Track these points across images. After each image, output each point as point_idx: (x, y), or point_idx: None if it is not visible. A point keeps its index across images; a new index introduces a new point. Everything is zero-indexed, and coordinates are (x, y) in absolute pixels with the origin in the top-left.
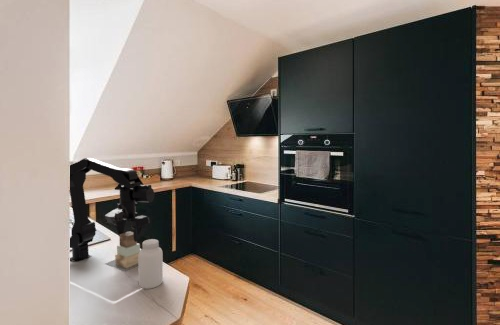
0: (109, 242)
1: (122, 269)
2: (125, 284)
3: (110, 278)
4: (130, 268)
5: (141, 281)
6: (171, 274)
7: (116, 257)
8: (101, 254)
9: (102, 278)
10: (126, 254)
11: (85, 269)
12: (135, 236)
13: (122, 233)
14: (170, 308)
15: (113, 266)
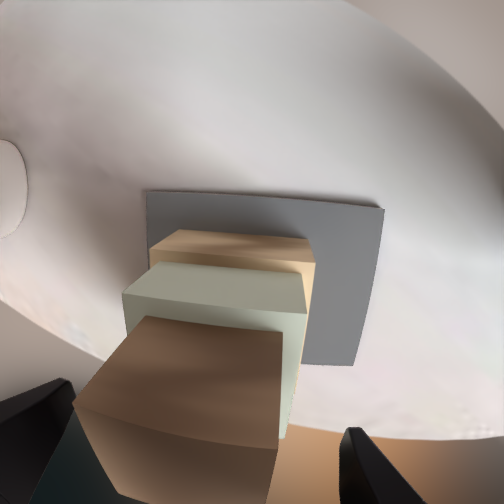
0: None
1: (185, 201)
2: (59, 113)
3: (169, 97)
4: (154, 236)
5: None
6: (8, 284)
7: (296, 253)
8: (498, 307)
9: (213, 71)
10: (153, 269)
11: (430, 111)
12: (7, 402)
13: (266, 478)
14: None
15: (286, 204)
